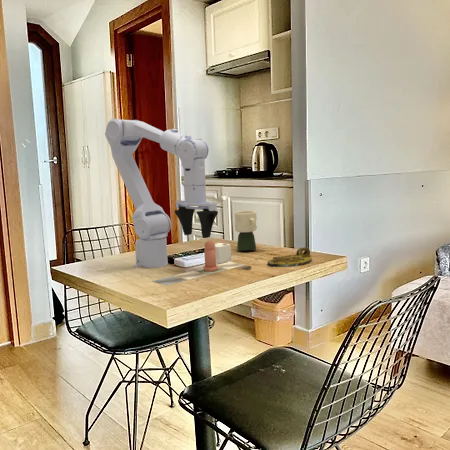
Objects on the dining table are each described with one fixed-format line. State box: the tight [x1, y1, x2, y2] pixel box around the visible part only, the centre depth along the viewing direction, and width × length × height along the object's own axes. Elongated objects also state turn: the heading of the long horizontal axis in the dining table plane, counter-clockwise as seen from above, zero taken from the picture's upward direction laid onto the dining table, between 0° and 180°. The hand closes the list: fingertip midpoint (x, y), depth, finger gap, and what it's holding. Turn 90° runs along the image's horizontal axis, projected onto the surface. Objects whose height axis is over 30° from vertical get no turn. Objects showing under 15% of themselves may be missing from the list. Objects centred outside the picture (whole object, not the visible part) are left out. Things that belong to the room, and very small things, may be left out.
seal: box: [266, 246, 313, 268], centre depth 138 cm, size 9×5×15 cm
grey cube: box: [214, 242, 232, 264], centre depth 144 cm, size 5×5×5 cm
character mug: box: [234, 210, 258, 252], centre depth 157 cm, size 11×7×13 cm, turn 28°
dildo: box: [202, 240, 219, 272], centre depth 128 cm, size 4×4×8 cm
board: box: [151, 261, 252, 287], centre depth 126 cm, size 10×28×1 cm, turn 134°
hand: (197, 236), depth 128 cm, fingers open, 7 cm apart
